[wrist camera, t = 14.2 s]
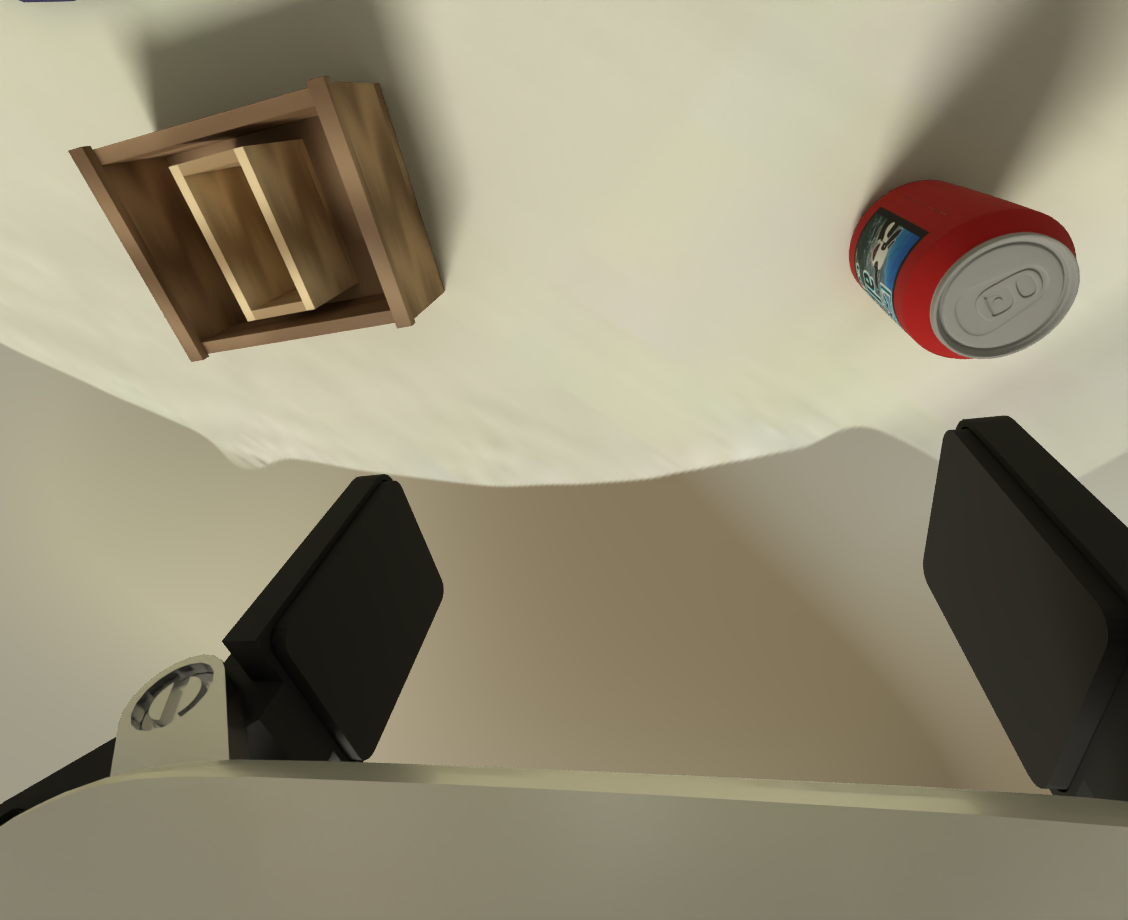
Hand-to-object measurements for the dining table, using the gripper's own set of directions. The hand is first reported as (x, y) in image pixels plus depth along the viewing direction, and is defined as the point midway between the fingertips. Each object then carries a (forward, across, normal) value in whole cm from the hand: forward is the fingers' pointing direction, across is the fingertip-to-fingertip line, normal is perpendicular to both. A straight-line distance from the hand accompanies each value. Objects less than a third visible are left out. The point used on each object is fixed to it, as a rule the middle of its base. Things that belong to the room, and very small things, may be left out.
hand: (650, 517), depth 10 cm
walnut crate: (+30, +24, -4) cm, 39 cm away
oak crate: (+30, +24, -4) cm, 38 cm away
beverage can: (+31, -14, +4) cm, 34 cm away
